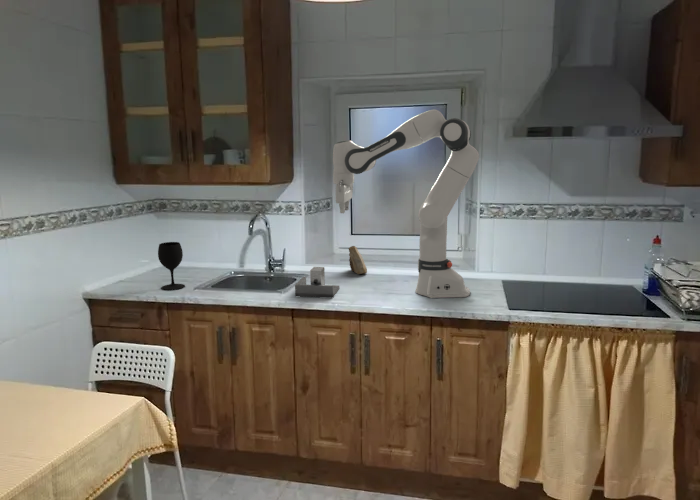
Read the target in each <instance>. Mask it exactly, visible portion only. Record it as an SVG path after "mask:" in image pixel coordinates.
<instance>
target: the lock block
mask: <svg viewBox="0 0 700 500" xmlns="http://www.w3.org/2000/svg"><path fill="white" fill-rule="evenodd" d="M309 273H310V275H309V276H310V277H309V278H310V285H326V279H325V278H326V276H325V274H326V273H325V266H313V267H312V268H311V269H310V271H309Z"/></svg>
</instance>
